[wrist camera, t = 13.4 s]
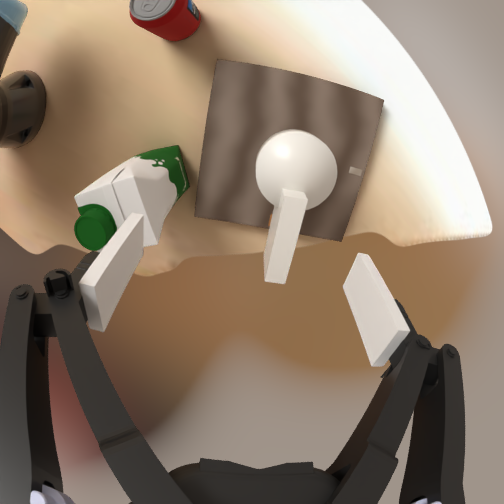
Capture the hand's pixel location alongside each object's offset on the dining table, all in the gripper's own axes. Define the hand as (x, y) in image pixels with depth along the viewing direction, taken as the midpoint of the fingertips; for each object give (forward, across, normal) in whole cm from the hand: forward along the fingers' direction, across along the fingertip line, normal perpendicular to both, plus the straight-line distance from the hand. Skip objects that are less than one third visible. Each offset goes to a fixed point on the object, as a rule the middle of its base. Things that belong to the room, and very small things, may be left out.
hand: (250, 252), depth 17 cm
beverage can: (+28, -14, +19) cm, 37 cm away
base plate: (+28, +5, +1) cm, 28 cm away
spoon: (+19, +5, -3) cm, 20 cm away
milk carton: (+28, -13, -5) cm, 31 cm away
